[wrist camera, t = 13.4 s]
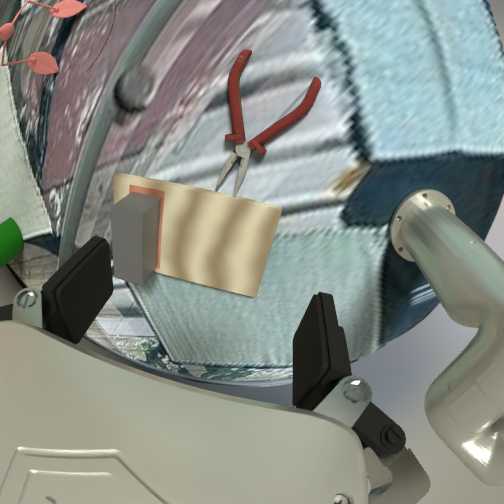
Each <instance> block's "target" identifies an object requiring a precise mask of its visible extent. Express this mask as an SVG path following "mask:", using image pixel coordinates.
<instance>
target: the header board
mask: <svg viewBox="0 0 504 504" xmlns="http://www.w3.org/2000/svg"><path fill="white" fill-rule="evenodd" d="M132 191H133V192H138V193H143V194H148V195H153V196H157V197H161V208H160V222H159V240H158V264H157V265H156V267H155V268H154V270H153V271H154V272H157V273H161V274H164V275H168V276H172V277H176V278H179V279H183V280H187V281H191V282H194V283H198V284H202V285H206V286H210V287H214V288H218V289H222V290H226V291H230V292H234V293H239V294H243V295H247V296H251V297H256V296H257V292H258V289H259V286H260V283H261V279H262V276H263V273H264V269H265V266H266V263H267V259H268V256H269V253H270V249H271V246H272V242H273V239H274V236H275V232H276V229H277V225H278V222H279V219H280V215H281V212H282V207H278V206H274V205H270V204H266V203H262V202H258V201H254V200H250V199H246V198H242V197H237V196H235V197H234V196H233V195H229V194H224V193H220V192H215V191H211V190H206V189H201V188H197V187H192V186H187V185H182V184H177V183H172V182H167V181H162V180H157V179H151V178H146V177H140V176H135V175H129V174H123V173H118V174H116V175H114V204H115V203H117V202H118V201H120V200H121V199H122V198H124V197H125V196H127V195H128V194H129V193H131V192H132ZM233 197H234V198H233Z"/></svg>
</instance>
